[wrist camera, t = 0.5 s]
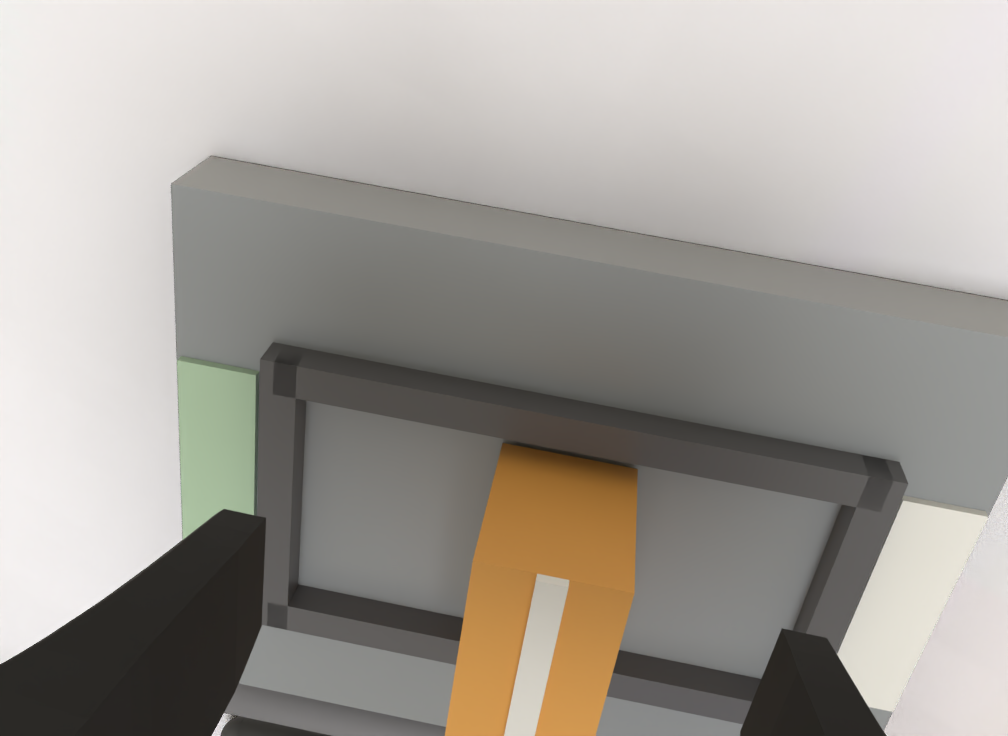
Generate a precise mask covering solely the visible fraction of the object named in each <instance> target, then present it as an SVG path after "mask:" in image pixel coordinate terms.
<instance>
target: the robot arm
mask: <svg viewBox="0 0 1008 736" xmlns="http://www.w3.org/2000/svg"><path fill="white" fill-rule="evenodd" d="M265 535H266V518H265V517H260V516H255V515H251V514H246V513H241V512H237V511H232V510H227V509H223V510H221V511H220V512H218V513H216V514H215V515H214V516H212V517H211V518H210V519H209V520H207V521H206V522H205V523H203V524H202V525H201V526H200V527H198V528H197V529H196V530H195V531H193V532H192V533H191V534H190V535H188V536H187V537H186V538H184V539H183V540H182V541H181V542H179V543H178V544H177V545H176V546H174V547H173V548H172V549H170V550H169V551H168V552H167V553H165V554H164V555H163V556H161V557H160V558H159V559H157V560H156V561H155V562H153V563H152V564H151V565H150V566H148V567H147V568H146V569H144V570H143V571H141V572H140V573H139V574H137V575H136V576H135V577H133V578H132V579H130V580H129V581H128V582H126V583H125V584H124V585H122V586H121V587H119V588H118V589H117V590H115V591H114V592H113V593H111V594H110V595H108V596H107V597H106V598H104V599H103V600H101V601H100V602H99V603H97V604H96V605H94V606H93V607H91V608H90V609H88V610H87V611H85V612H84V613H82V614H81V615H79V616H78V617H76V618H74V619H73V620H71V621H70V622H68V623H67V624H65V625H64V626H62V627H61V628H59V629H58V630H56V631H55V632H53V633H52V634H50V635H49V636H47V637H46V638H44V639H42V640H41V641H39V642H38V643H36V644H34V645H33V646H31V647H29V648H28V649H26V650H24V651H23V652H21V653H19V654H18V655H16V656H14V657H13V658H11V659H9V660H7V661H6V662H4V663H2V664H0V736H211V735H212V734H213V732H214V730H215V728H216V726H217V724H218V723H219V721H220V719H221V717H222V715H223V713H224V712H225V710H226V708H227V706H228V704H229V702H230V700H231V699H232V697H233V695H234V693H235V691H236V688H237V686H238V684H239V681H240V679H241V676H242V674H243V672H244V669H245V667H246V664H247V662H248V660H249V657H250V654H251V652H252V649H253V647H254V644H255V642H256V639H257V637H258V634H259V632H260V629H261V627H262V606H263V582H264V559H265ZM740 736H886V734H885V733H884V731H883V730H882V728H881V726H880V725H879V723H878V722H877V720H876V718H875V717H874V715H873V713H872V712H871V710H870V708H869V707H868V705H867V704H866V702H865V700H864V699H863V697H862V695H861V694H860V692H859V690H858V689H857V687H856V685H855V684H854V682H853V680H852V679H851V677H850V675H849V674H848V672H847V670H846V669H845V667H844V665H843V664H842V662H841V660H840V659H839V657H838V655H837V654H836V652H835V650H834V649H833V647H832V646H831V644H830V642H829V641H828V639H827V638H825V637H820V636H815V635H811V634H806V633H801V632H797V631H792V630H787V629H783V628H782V629H781V632H780V634H779V637H778V639H777V641H776V644H775V646H774V649H773V651H772V654H771V656H770V659H769V661H768V664H767V666H766V669H765V671H764V674H763V676H762V679H761V681H760V684H759V686H758V689H757V691H756V693H755V696H754V698H753V701H752V703H751V706H750V708H749V711H748V713H747V716H746V718H745V721H744V723H743V726H742V728H741V731H740Z"/></svg>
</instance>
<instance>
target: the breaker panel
mask: <svg viewBox="0 0 1008 736" xmlns="http://www.w3.org/2000/svg"><path fill="white" fill-rule="evenodd" d="M171 199H172V229H173V260H174V291H175V322H176V353H177V384H178V414H179V445H180V476H181V507H182V538H183V539H184V538H186V537H187V536H188V535H190V534H191V533H192V532H193V531H195V530H196V529H197V528H198V527H200V526H201V525H202V524H203V523H205V522H206V521H207V520H209V519H210V518H211V517H212V516H214V515H215V514H216V513H218V512H220V511H221V510H223V509H227V510H232V511H237V512H241V513H246V514H251V515H255V516H260V517H265V518H266V535H265V559H264V582H263V606H262V627H261V629H260V632H259V634H258V637H257V639H256V642H255V644H254V647H253V649H252V652H251V654H250V657H249V660H248V662H247V664H246V667H245V669H244V672H243V674H242V676H241V679H240V681H239V684H244V685H249V686H254V687H258V688H263V689H268V690H273V691H277V692H282V693H287V694H292V695H296V696H301V697H306V698H311V699H315V700H320V701H325V702H330V703H334V704H339V705H344V706H349V707H353V708H358V709H363V710H368V711H372V712H377V713H382V714H387V715H391V716H396V717H401V718H406V719H410V720H415V721H420V722H425V723H429V724H434V725H439V726H444V727H446V724H447V718H448V712H449V706H450V699H451V693H452V687H453V681H454V674H455V668H456V662H457V656H458V649H459V643H460V637H461V631H462V625H463V618H464V612H465V606H466V600H467V593H468V587H469V581H470V575H471V568H472V562H473V558H474V554H475V550H476V546H477V542H478V538H479V534H480V530H481V526H482V522H483V518H484V514H485V510H486V506H487V502H488V498H489V494H490V490H491V487H492V483H493V479H494V475H495V471H496V467H497V463H498V459H499V455H500V451H501V447H502V443H506V444H512V445H517V446H522V447H527V448H532V449H537V450H543V451H548V452H553V453H558V454H563V455H568V456H573V457H579V458H584V459H589V460H594V461H599V462H604V463H609V464H615V465H620V466H625V467H630V468H635V469H638V476H637V515H636V554H635V593H634V597H633V600H632V604H631V608H630V611H629V615H628V619H627V622H626V626H625V630H624V633H623V637H622V641H621V644H620V648H619V652H618V655H617V659H616V663H615V666H614V670H613V673H612V677H611V681H610V684H609V688H608V692H607V695H606V699H605V703H604V706H603V710H602V714H601V717H600V721H599V725H598V728H597V732H596V736H740V731H741V728H742V726H743V723H744V721H745V718H746V716H747V713H748V711H749V708H750V706H751V703H752V701H753V698H754V696H755V693H756V691H757V689H758V686H759V684H760V681H761V679H762V676H763V674H764V671H765V669H766V666H767V664H768V661H769V659H770V656H771V654H772V651H773V649H774V646H775V644H776V641H777V639H778V637H779V634H780V632H781V629H782V628H783V629H787V630H792V631H797V632H801V633H806V634H811V635H815V636H820V637H825V638H827V639H828V641H829V642H830V644H831V646H832V647H833V649H834V650H835V652H836V654H837V655H838V657H839V659H840V660H841V662H842V664H843V665H844V667H845V669H846V670H847V672H848V674H849V675H850V677H851V679H852V680H853V682H854V684H855V685H856V687H857V689H858V690H859V692H860V694H861V695H862V697H863V699H864V700H865V702H866V704H867V705H868V707H869V708H870V710H871V712H872V713H873V715H874V717H875V718H876V720H877V722H878V723H879V725H880V726H881V728H882V730H883V731H884V729H885V727H886V725H887V723H888V721H889V719H890V717H891V715H892V712H893V711H894V709H895V707H896V705H897V703H898V701H899V699H900V697H901V695H902V693H903V691H904V689H905V687H906V685H907V683H908V681H909V679H910V677H911V674H912V672H913V670H914V668H915V666H916V664H917V662H918V660H919V658H920V656H921V654H922V652H923V650H924V648H925V646H926V644H927V642H928V640H929V638H930V636H931V634H932V632H933V630H934V627H935V625H936V623H937V621H938V619H939V617H940V615H941V613H942V611H943V609H944V607H945V605H946V603H947V601H948V599H949V597H950V595H951V593H952V591H953V589H954V587H955V585H956V583H957V580H958V578H959V576H960V574H961V572H962V570H963V568H964V566H965V564H966V562H967V560H968V558H969V556H970V554H971V552H972V550H973V548H974V546H975V544H976V542H977V540H978V538H979V536H980V533H981V531H982V529H983V527H984V525H985V523H986V521H987V519H988V516H989V514H990V512H991V510H992V508H993V506H994V504H995V502H996V500H997V498H998V496H999V494H1000V492H1001V490H1002V488H1003V486H1004V483H1005V481H1006V479H1007V477H1008V301H1006V300H1001V299H995V298H990V297H984V296H979V295H973V294H968V293H962V292H957V291H951V290H946V289H940V288H935V287H929V286H924V285H918V284H913V283H907V282H902V281H896V280H891V279H885V278H880V277H874V276H869V275H863V274H858V273H852V272H847V271H841V270H836V269H830V268H825V267H819V266H814V265H808V264H803V263H797V262H792V261H786V260H781V259H775V258H770V257H764V256H759V255H753V254H748V253H742V252H737V251H731V250H726V249H720V248H715V247H709V246H704V245H698V244H693V243H687V242H682V241H676V240H670V239H665V238H659V237H654V236H648V235H643V234H637V233H632V232H626V231H621V230H615V229H610V228H604V227H599V226H593V225H588V224H582V223H577V222H571V221H566V220H560V219H555V218H549V217H544V216H538V215H533V214H527V213H522V212H516V211H511V210H505V209H500V208H494V207H489V206H483V205H478V204H472V203H467V202H461V201H456V200H450V199H445V198H439V197H434V196H428V195H423V194H417V193H412V192H406V191H401V190H395V189H390V188H384V187H379V186H373V185H368V184H362V183H357V182H351V181H346V180H340V179H335V178H329V177H324V176H318V175H313V174H307V173H301V172H296V171H290V170H285V169H279V168H274V167H268V166H263V165H257V164H252V163H246V162H241V161H235V160H230V159H224V158H219V157H213V156H210V157H209V158H207V159H206V160H204V161H203V162H201V163H200V164H199V165H197V166H196V167H194V168H193V169H191V170H190V171H188V172H187V173H186V174H184V175H183V176H181V177H180V178H178V179H177V180H176V181H174V182H173V183H171Z"/></svg>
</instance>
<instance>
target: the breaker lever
mask: <svg viewBox="0 0 1008 736" xmlns="http://www.w3.org/2000/svg"><path fill="white" fill-rule="evenodd" d="M637 476H638V469H635V468H630V467H625V466H620V465H615V464H609V463H604V462H599V461H594V460H589V459H584V458H579V457H573V456H568V455H563V454H558V453H553V452H548V451H543V450H537V449H532V448H527V447H522V446H517V445H512V444H506V443H502V447H501V451H500V455H499V459H498V463H497V467H496V471H495V475H494V479H493V483H492V487H491V490H490V494H489V498H488V502H487V506H486V510H485V514H484V518H483V522H482V526H481V530H480V534H479V538H478V542H477V546H476V550H475V554H474V558H473V562H472V568H471V575H470V581H469V587H468V593H467V600H466V606H465V612H464V618H463V625H462V631H461V637H460V643H459V649H458V656H457V662H456V668H455V674H454V681H453V687H452V693H451V699H450V706H449V712H448V718H447V724H446V731H445V736H596V732H597V728H598V725H599V721H600V717H601V714H602V710H603V706H604V703H605V699H606V695H607V692H608V688H609V684H610V681H611V677H612V673H613V670H614V666H615V663H616V659H617V655H618V652H619V648H620V644H621V641H622V637H623V633H624V630H625V626H626V622H627V619H628V615H629V611H630V608H631V604H632V600H633V597H634V593H635V554H636V515H637Z"/></svg>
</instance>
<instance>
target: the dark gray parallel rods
mask: <svg viewBox="0 0 1008 736" xmlns="http://www.w3.org/2000/svg"><path fill="white" fill-rule="evenodd" d="M224 713H227V714H232V715H237V716H241V717H236V718H234V719H232V720H230V721H229V722H228V723H227V724H226V725H225V726H224V728H223V730H222V732H221V736H445V731H446V727H444V726H439V725H434V724H429V723H425V722H420V721H415V720H410V719H406V718H401V717H396V716H391V715H387V714H382V713H377V712H372V711H368V710H363V709H358V708H353V707H349V706H344V705H339V704H334V703H330V702H325V701H320V700H315V699H311V698H306V697H301V696H296V695H292V694H287V693H282V692H277V691H273V690H268V689H263V688H258V687H254V686H249V685H244V684H238V686H237V688H236V691H235V693H234V695H233V697H232V699H231V700H230V702H229V704H228V706H227V708H226V710H225V712H224Z"/></svg>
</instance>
